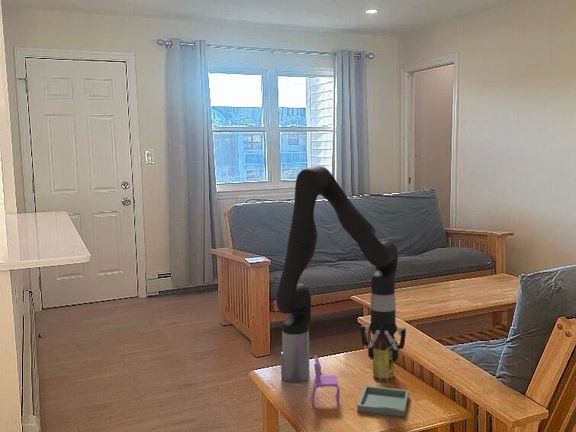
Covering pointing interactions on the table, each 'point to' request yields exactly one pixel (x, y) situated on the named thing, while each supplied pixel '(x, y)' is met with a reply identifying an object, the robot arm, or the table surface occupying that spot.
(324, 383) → the chair
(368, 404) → the tray
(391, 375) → the sauce bottle
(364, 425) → the table surface
